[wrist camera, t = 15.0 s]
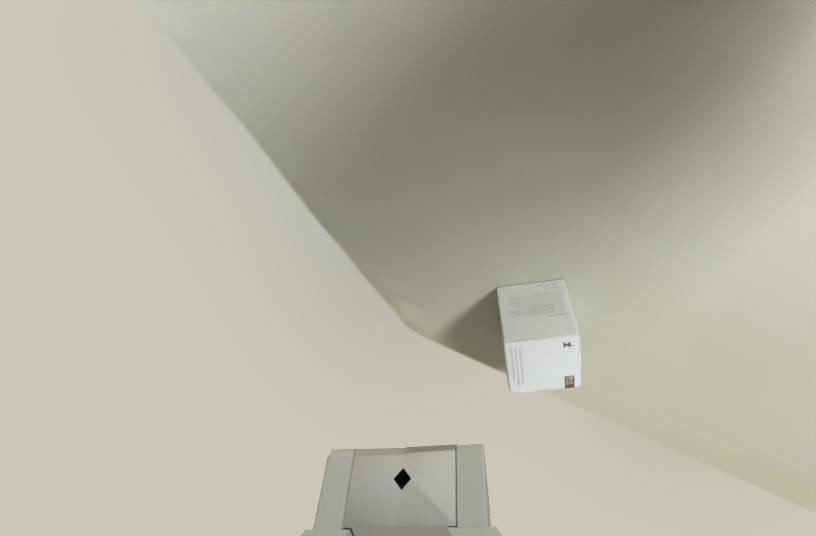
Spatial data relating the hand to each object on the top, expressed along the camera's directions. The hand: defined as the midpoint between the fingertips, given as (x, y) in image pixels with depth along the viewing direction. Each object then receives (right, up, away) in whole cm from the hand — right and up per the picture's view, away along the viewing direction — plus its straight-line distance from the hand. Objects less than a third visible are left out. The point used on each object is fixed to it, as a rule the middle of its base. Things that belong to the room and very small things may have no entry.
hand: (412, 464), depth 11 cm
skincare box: (+11, 0, +41) cm, 43 cm away
